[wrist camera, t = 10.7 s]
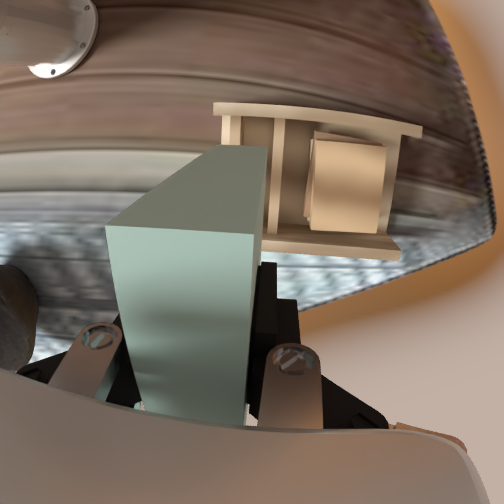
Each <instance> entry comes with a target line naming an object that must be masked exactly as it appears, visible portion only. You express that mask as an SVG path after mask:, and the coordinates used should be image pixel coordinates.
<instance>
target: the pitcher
mask: <svg viewBox="0 0 504 504" xmlns="http://www.w3.org/2000/svg"><path fill="white" fill-rule="evenodd" d="M37 316H38V299H37V295H36V293H35V291H34V289H33V287H32V285H31V283H30V282H29V280H28V278H27V276H26V275H24V273H23V272H22V271H21V270H19V269H18V268H16V267H12V266H9V265H0V368H2V369H5V370H8V371H10V370H14V371H18V370H19V369H21V368H22V367H23V366H26V365H27V364H28V362H29V361H30V359H31V357H32V354H33V350H34V346H35V336H36V322H37Z"/></svg>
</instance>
